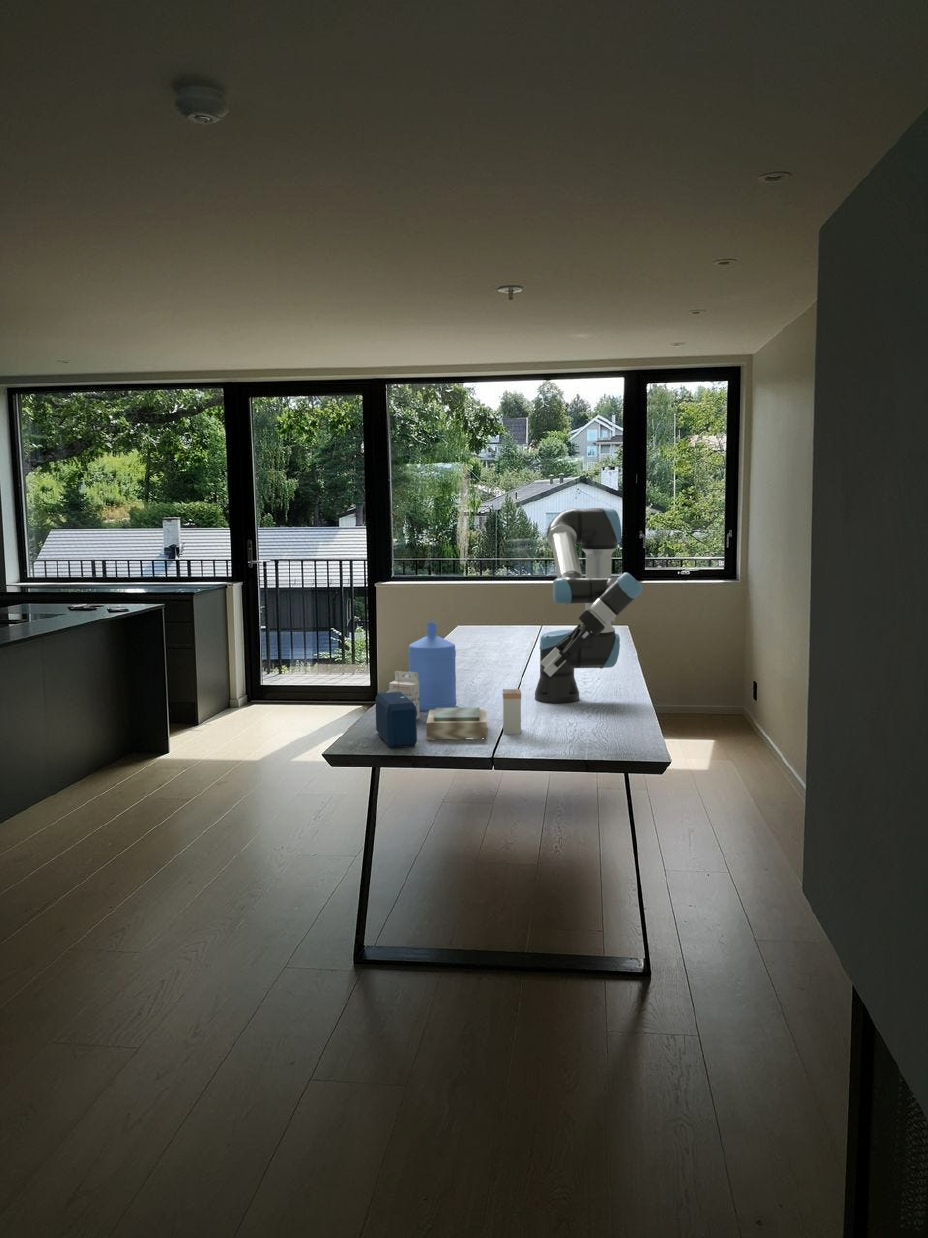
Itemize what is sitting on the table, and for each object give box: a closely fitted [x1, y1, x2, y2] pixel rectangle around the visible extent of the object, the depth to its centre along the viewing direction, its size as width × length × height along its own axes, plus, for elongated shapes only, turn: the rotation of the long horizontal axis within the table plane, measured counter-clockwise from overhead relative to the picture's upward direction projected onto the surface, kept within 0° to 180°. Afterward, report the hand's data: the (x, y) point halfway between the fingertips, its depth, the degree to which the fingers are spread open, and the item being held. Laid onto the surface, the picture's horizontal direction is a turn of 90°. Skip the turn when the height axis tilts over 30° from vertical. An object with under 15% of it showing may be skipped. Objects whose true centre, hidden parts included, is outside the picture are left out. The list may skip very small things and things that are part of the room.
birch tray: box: [425, 706, 488, 741], centre depth 269 cm, size 17×17×6 cm
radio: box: [374, 681, 418, 749], centre depth 261 cm, size 21×9×20 cm, turn 17°
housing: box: [502, 688, 522, 735], centre depth 270 cm, size 5×6×12 cm
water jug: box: [407, 622, 457, 713], centre depth 303 cm, size 16×16×28 cm
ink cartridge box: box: [388, 670, 420, 720], centre depth 287 cm, size 9×5×15 cm, turn 71°
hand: (544, 669), depth 268 cm, fingers open, 13 cm apart
